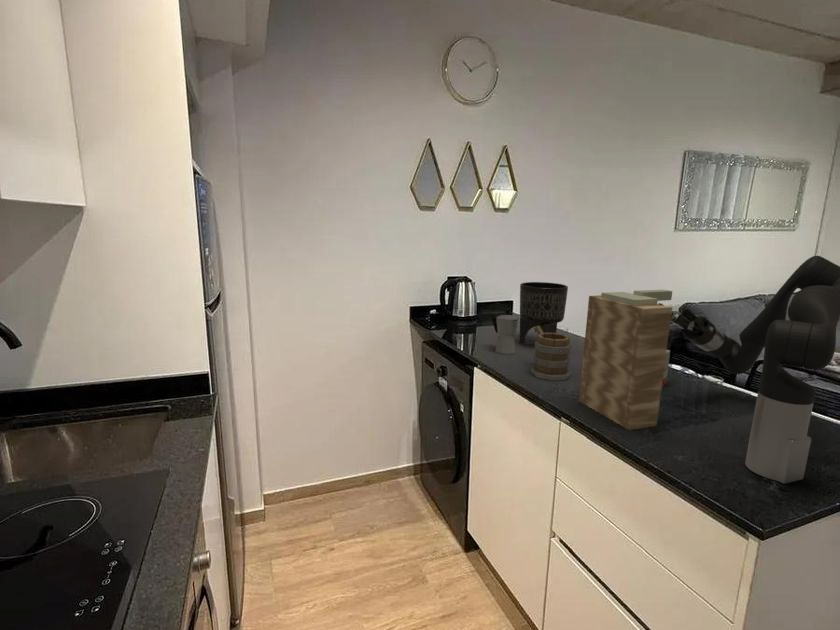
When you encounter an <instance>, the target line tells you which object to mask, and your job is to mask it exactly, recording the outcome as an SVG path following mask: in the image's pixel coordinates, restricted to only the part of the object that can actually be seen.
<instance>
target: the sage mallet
mask: <svg viewBox="0 0 840 630" xmlns="http://www.w3.org/2000/svg"><path fill="white" fill-rule="evenodd" d="M600 295H601V298H603V299H607V300H611V301H616V302H620V303H624V304H629V305H633V306H641V305H657V304H658V302H660V301H661V302H663V301H672V299H673V298H672V297H673V290H668V289H647V290H642V289H641V290H633V292H632V293H630V292H625V291H614V292H613V291H609V292H601V294H600Z"/></svg>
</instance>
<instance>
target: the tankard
mask: <svg viewBox="0 0 840 630" xmlns="http://www.w3.org/2000/svg"><path fill="white" fill-rule="evenodd" d="M533 328H534V329H533V331H534V333H537V335H536V336H537V339H536V341H534V355H533V363H535V364H534V366H533V367H531V368H530V373H531V374H532V375H533V376H535V377H536V378H537V379H542V380H546V381H549V382H553V381H557V382H558V381H566V380H568V379H569V378H570V377H571V375H572V371H570V370H569V369H568V366H569V365H571V357H569V354H570V353H569V352H571V351H572V343H570V342H571V337H570V336H568V335H566V334H563V333H557V332H556V333H543V331H542V329H541V328H540V326H536V327H533Z"/></svg>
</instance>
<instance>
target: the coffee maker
mask: <svg viewBox="0 0 840 630" xmlns="http://www.w3.org/2000/svg"><path fill="white" fill-rule="evenodd" d="M511 311H512V309H510V308H505V309H504V313H505V314H501V313H500V314H493V316H492V318H491V322H492V324H493V327H494V331H495V333H496V334H497V333H498V336H497V341H496V346H495V349H494V350H495V351H494V352H495V353H496V354H499V355H507V356H511V355H515V354H516V346H515V345H516V343H515V335H516V332H517V328H518V323H520V320H519V317H517V316H514V315H513V314H512V315H511Z"/></svg>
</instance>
